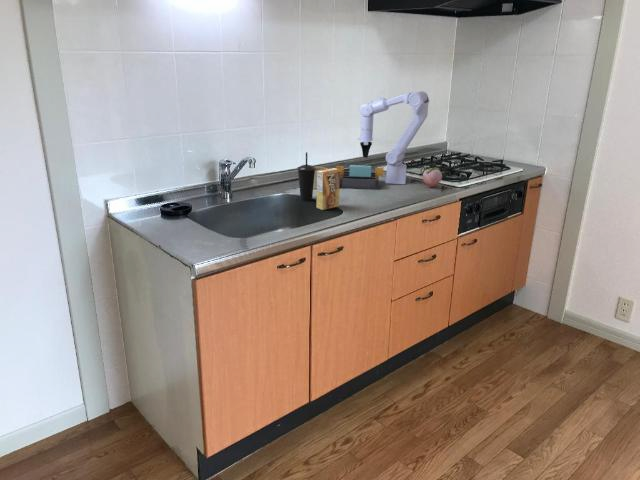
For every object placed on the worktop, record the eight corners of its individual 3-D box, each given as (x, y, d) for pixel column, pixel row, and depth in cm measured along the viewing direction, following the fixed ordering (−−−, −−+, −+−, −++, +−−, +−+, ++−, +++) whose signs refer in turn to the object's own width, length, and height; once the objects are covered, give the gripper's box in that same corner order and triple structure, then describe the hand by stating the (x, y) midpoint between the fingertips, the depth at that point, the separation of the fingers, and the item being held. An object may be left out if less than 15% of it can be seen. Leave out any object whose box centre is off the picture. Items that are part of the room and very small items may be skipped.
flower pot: (321, 191, 232) (321, 172, 229) (303, 188, 237) (303, 169, 234) (332, 187, 240) (332, 168, 237) (315, 184, 244) (315, 166, 241)
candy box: (332, 204, 214) (333, 167, 209) (339, 206, 211) (340, 169, 206) (316, 208, 209) (316, 170, 203) (322, 210, 206) (323, 172, 200)
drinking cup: (305, 196, 225) (305, 150, 218) (318, 199, 221) (319, 152, 214) (293, 199, 219) (293, 152, 212) (307, 203, 215) (307, 155, 208)
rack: (382, 181, 251) (383, 164, 248) (382, 189, 236) (383, 171, 233) (336, 180, 253) (337, 162, 250) (334, 188, 238) (334, 169, 235)
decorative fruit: (428, 183, 248) (430, 163, 245) (443, 187, 243) (445, 166, 239) (417, 187, 242) (419, 166, 238) (432, 190, 237) (434, 169, 233)
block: (370, 182, 245) (371, 165, 242) (370, 183, 243) (371, 166, 240) (349, 181, 246) (349, 165, 243) (349, 183, 243) (349, 166, 241)
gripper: (358, 126, 256) (357, 154, 261) (358, 131, 242) (356, 159, 247) (373, 127, 255) (371, 154, 260) (373, 131, 242) (371, 160, 246)
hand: (365, 157), depth 254 cm, fingers closed
